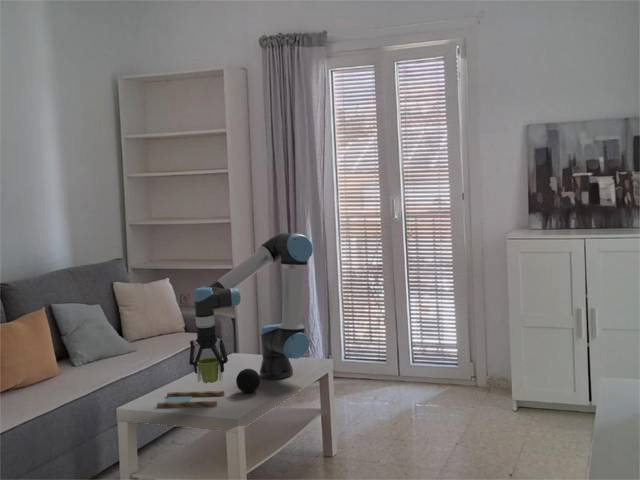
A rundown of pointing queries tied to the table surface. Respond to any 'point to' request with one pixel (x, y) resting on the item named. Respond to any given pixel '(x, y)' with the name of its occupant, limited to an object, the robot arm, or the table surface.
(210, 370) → the plant pot
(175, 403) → the pair of walnut rails
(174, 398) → the marked pad
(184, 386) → the table surface
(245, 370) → the speaker
